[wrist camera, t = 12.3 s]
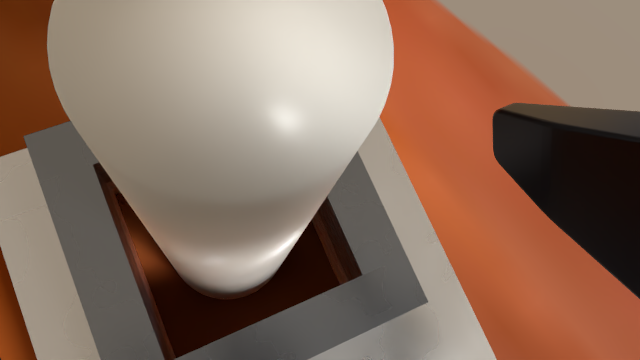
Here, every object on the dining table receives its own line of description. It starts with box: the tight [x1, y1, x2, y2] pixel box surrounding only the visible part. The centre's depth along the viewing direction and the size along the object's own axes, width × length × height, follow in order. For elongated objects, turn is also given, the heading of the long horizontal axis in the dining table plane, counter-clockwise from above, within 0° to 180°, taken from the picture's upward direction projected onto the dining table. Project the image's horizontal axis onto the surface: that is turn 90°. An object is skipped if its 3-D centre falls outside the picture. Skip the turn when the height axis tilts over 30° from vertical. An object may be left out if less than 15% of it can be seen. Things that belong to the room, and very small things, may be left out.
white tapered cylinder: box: [47, 0, 394, 299], centre depth 13 cm, size 4×4×14 cm
